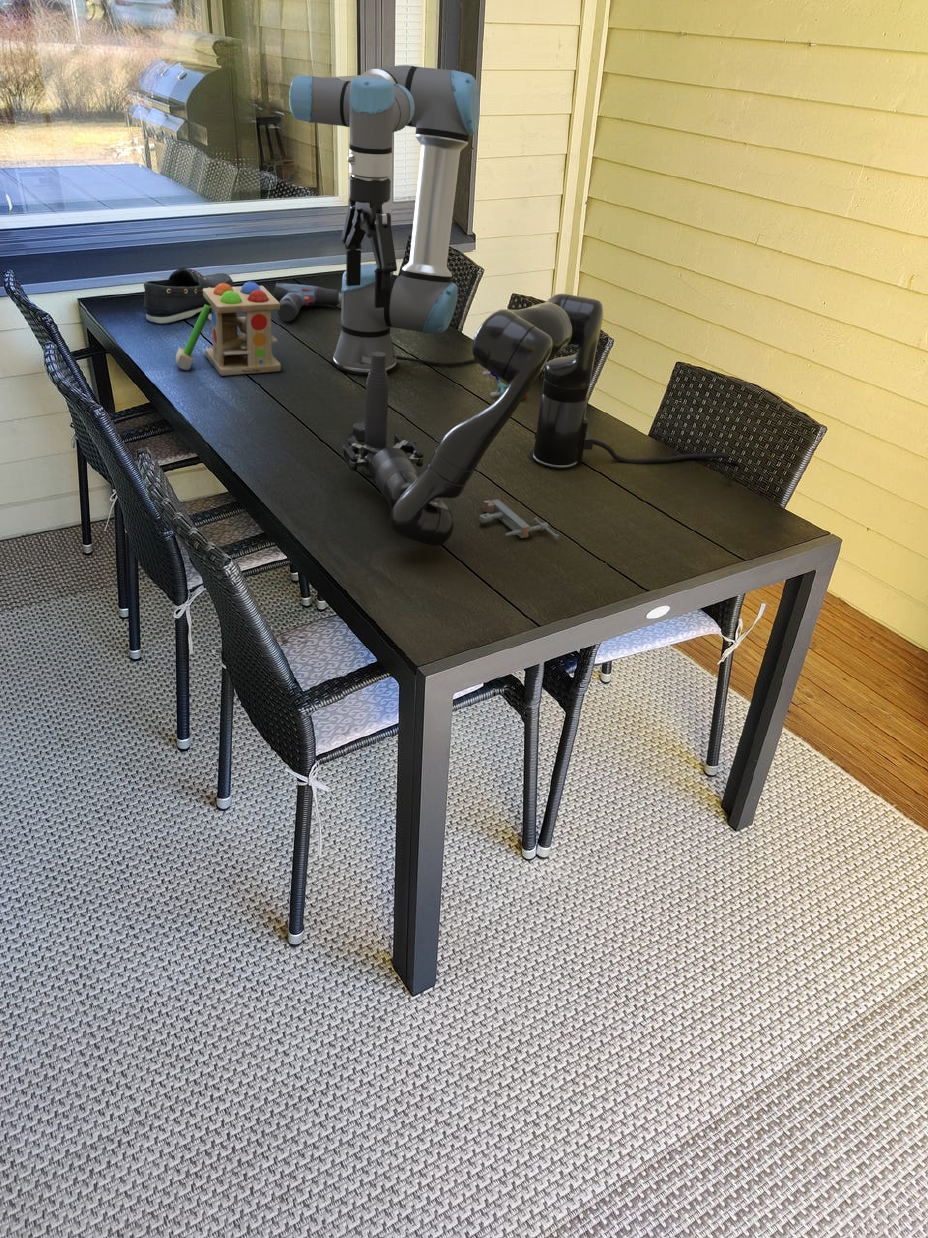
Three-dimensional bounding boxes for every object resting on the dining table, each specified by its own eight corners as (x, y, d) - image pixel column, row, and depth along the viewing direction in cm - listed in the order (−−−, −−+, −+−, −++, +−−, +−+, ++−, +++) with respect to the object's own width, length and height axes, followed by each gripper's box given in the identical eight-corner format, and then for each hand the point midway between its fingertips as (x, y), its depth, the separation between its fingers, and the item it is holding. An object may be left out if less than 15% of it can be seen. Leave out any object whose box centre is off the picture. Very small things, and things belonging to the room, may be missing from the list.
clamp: (469, 503, 178) (515, 494, 182) (468, 513, 179) (514, 504, 184) (513, 542, 167) (561, 531, 172) (512, 553, 169) (559, 542, 173)
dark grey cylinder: (387, 470, 192) (393, 352, 178) (380, 478, 188) (385, 359, 175) (368, 466, 192) (372, 348, 179) (360, 474, 189) (363, 355, 176)
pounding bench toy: (183, 379, 220) (176, 299, 210) (169, 357, 231) (162, 280, 221) (282, 371, 230) (280, 294, 220) (264, 350, 240) (262, 276, 230)
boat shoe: (253, 302, 272) (251, 263, 267) (163, 325, 248) (159, 283, 243) (219, 293, 278) (216, 255, 272) (128, 316, 254) (123, 274, 248)
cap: (367, 432, 206) (367, 420, 204) (374, 439, 203) (375, 428, 201) (350, 434, 204) (350, 423, 202) (357, 442, 201) (357, 430, 200)
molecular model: (528, 399, 218) (514, 355, 217) (489, 413, 222) (475, 370, 221) (541, 397, 229) (527, 355, 228) (504, 410, 233) (491, 369, 231)
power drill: (335, 306, 256) (344, 285, 273) (264, 300, 255) (277, 279, 272) (335, 327, 259) (344, 304, 276) (264, 320, 258) (277, 299, 275)
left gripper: (324, 161, 182) (324, 277, 194) (379, 193, 165) (375, 318, 177) (361, 161, 186) (359, 275, 198) (419, 191, 168) (413, 314, 180)
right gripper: (435, 455, 175) (411, 418, 187) (357, 460, 171) (337, 422, 183) (433, 492, 179) (409, 455, 192) (356, 498, 175) (337, 459, 187)
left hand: (367, 295), depth 187 cm, fingers open, 13 cm apart
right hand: (374, 439), depth 187 cm, fingers open, 8 cm apart
